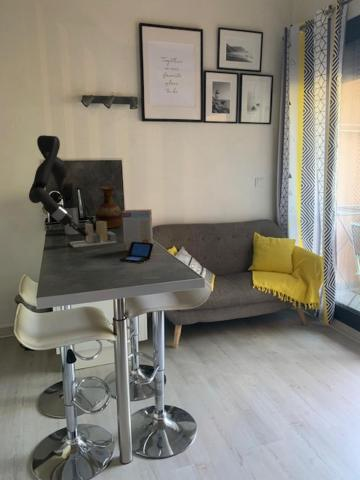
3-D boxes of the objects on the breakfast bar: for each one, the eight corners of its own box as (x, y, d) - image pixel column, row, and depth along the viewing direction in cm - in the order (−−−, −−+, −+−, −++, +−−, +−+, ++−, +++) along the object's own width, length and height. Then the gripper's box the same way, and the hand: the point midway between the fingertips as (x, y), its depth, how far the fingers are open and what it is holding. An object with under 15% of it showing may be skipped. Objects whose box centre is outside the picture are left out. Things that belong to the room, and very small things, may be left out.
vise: (69, 243, 219) (69, 235, 218) (110, 239, 229) (110, 231, 228) (73, 247, 208) (72, 238, 207) (116, 242, 218) (116, 234, 217)
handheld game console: (118, 261, 175) (117, 245, 173) (132, 256, 184) (131, 241, 183) (141, 264, 169) (140, 247, 167) (154, 258, 178) (153, 243, 177)
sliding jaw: (85, 240, 222) (83, 223, 220) (95, 239, 225) (94, 222, 223) (89, 243, 211) (88, 225, 210) (100, 242, 214) (99, 224, 212)
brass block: (97, 240, 222) (95, 221, 220) (105, 239, 224) (104, 220, 222) (99, 241, 217) (97, 222, 215) (107, 240, 219) (106, 221, 217)
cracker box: (153, 249, 198) (151, 208, 194) (151, 251, 192) (149, 210, 188) (127, 249, 199) (124, 209, 196) (124, 251, 194) (122, 210, 190)
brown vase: (95, 230, 267) (92, 186, 261) (95, 225, 286) (93, 185, 281) (123, 228, 271) (121, 185, 265) (122, 224, 290) (120, 184, 285)
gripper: (68, 211, 203) (93, 232, 211) (64, 209, 215) (87, 229, 223) (59, 222, 202) (83, 242, 209) (55, 219, 214) (79, 239, 221)
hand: (85, 235), depth 216 cm, fingers closed
